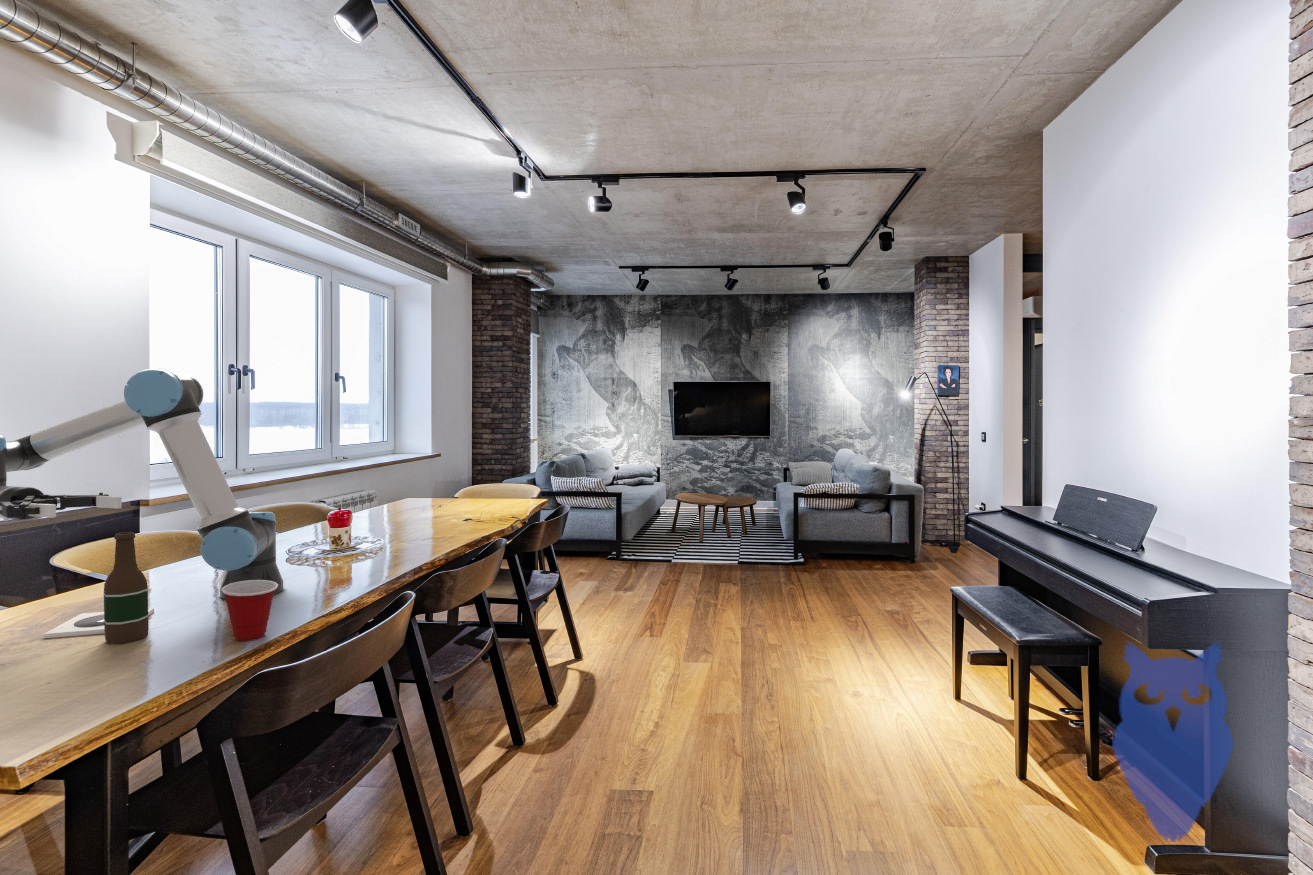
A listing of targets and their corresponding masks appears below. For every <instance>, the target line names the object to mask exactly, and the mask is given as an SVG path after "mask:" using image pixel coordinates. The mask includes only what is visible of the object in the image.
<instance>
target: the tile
mask: <svg viewBox="0 0 1313 875" xmlns="http://www.w3.org/2000/svg"><path fill="white" fill-rule="evenodd" d="M153 613H155V608H154V607H153V608H152V607H150V608H149V607H148V617H149V616H150V615H152V614H153ZM101 634H105V632H104V611H101V612H99V611H98V612H84V613H79V614H78V615H75V616H74V617H72V618H70V619H68V620H67V621H65V622H63V623H62V624H60V625H58V626H56V627H54V628H52V629H50V630H49V631H46V632H45V633H43V639H52V638H65V637H75V636H76V637H77V636H87V635H101Z"/></svg>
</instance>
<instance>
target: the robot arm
mask: <svg viewBox="0 0 1313 875" xmlns="http://www.w3.org/2000/svg"><path fill="white" fill-rule="evenodd" d="M123 398H124V399H123V400H122V401H119V402H116V403H114V404H111V405H108V406H105V407H103V408H99V409H97V410H95V411H91V412H89V413H86V414H83V415H81V416H78V417H75V418H73V419H70V420H67V421H64V422H62V423H59V424H56V425H54V426H50V427H49V428H46V429H43V430H40V431H38V432H34V433H32V434H29V435H27V436H24V437H21V438H18V439H15V440H11V441H6V437H5V435H1V434H0V519H3V521H4V522H7V521H10V520H11V519H12V520H19V521H20V520H30V519H31V520H32V519H34V518H37V517H38V518H39V517H40V518H51V519H52V518H56V517H57V511H63V510H65V509H67V508H68V509H69V508H89V507H93V508H94V507H96V508H101V509H102V508H104V509H122V506H123V505H122V504H123V503H122V496H112V495H110V494H104V492H99V493H98V494H78V495H77V494H76V495H75V494H74V495H73V494H71V495H70V494H57V495H55V494H53V495H51V494H44V493H43V492H42V491H41V490H40V489H38V488H35V487H29V486H15V485H7V479H8V478H7V477H8V476H7V474H8V473H9V472H10V473H11V472H18V471H19V472H20V471H30V470H33V469H36V468H41V467H42V466H43V465H45V464H46V463H47V462H49V461H52V460H54V459H56V458H59V457H62V456H64V455H67V454H70V453H72V452H75V451H77V450H81V449H83V448H86V447H89V446H91V445H93V444H96V443H100V442H102V441H104V440H106V439H109V438H112V437H114V436H117V435H120V434H123V433H126V432H128V431H131V430H133V429H136V428H139V427H141V426H144V425H145V426H146V428H147V430H149V431H152V432H155V433H157V434H158V435H159V438H160V440H161V442H162V444H163V446H164V448H165V450H166V452H167V454H168V456H169V458H170V460H171V462H172V464H173V466H174V468H175V470H176V473H177V474H178V477H179V478H180V480H181V483H182V485H183V487H184V488H185V491H186V493H187V495H188V497H189V499H190V501H191V504H192V505H193V508H194V509H195V512H196V513H197V516H198V517H199V519H200V520H199V523H198V525H197V527H196V530H197V532H198V534H199V537H200V538H201V540H202V542H201V544H200V556H201V557H202V559H203V560H204V562H205V563H206V564H207V565H209V566H210V567H211V568H213V569H216V570H219V571H225V574H224V576H223V579H222V582H221V585H220V587H219V597H220V598H221V599H223V600H226V598H225V595H224V593H223V592H222V588H223V587H224V586H226V585H228V584H230V583H235V582H239V581H248V580H267V581H273V582H276V583H277V584H278V587H277V588H276V590H275V593H274V595H276V594H279V593H280V592H282V591H283V590H284V580H283V577H282V574H281V572H280V568H279V567H278V564H277V520H276V514H275V513H274V512H272V511H253V512H252V511H251V512H250V511H249V510H248V509H247V508H244V507H243V506H242V507H241V506H240V505H238V502H237V500H236V498H235V497H234V496H235V495H234V494H233V493H232V492H233V491H232V489H231V488H230V486H229V484H228V481H227V479H226V478H225V475H224V473H223V471H222V469H221V467H220V465H219V462H218V461H217V459H216V456H215V454H214V452H213V451H212V447H211V446H210V444H209V441H208V440H207V437H206V436H205V434H204V432H203V430H202V427H201V425H200V423H199V420H200V417H201V416H202V414H203V413H202V410H201V408H200V406H201V404H202V402H203V399H204V389H203V386H202V385H201V384H200V382H199V381H198V379H196V378H195V377H193V376H192V375H191V374H189V373H186V372H183V371H182V372H181V371H175V370H168V369H166V368H149V369H144V370H140V371H137V372H136V373H134V374H133V375H132V376H131V377H130V378H129V379H128V380H127V382H126V384H125V386H124V388H123ZM58 504H59V506H58Z"/></svg>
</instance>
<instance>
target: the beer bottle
mask: <svg viewBox="0 0 1313 875" xmlns="http://www.w3.org/2000/svg"><path fill="white" fill-rule="evenodd" d="M135 538H136V534H135V532H133V531H122V532H118V533H115V534H114V537H113V539H114V540H115V546H114V547H115V549H114V550H115V551H114V562H113V563H114V564H113V568H112V570H111V571H110V573H109V574H108V575H107V576H106V579H105V582H104V584H103V612H104V632H105V633H104V639H105V642H106V643H107V644H108V645H123V644H128V643H135V642H137V641H141V640H143V639H145V638H147V637H148V635H149V616H148V609H149V589H148V588H149V587H148V580H147V578H146V576H145V573H143V571H141V569H140V568H139V566H138V564H137V558H136V557H137V556H136V546H135Z"/></svg>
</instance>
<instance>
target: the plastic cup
mask: <svg viewBox="0 0 1313 875" xmlns="http://www.w3.org/2000/svg"><path fill="white" fill-rule="evenodd" d="M277 587H278V584H277V583H276V582H273V581H267V580H248V581H239V582H235V583H230V584H228V585H226V586H224V587H223V588H222V592H223V593H224V595H225V598H226V599H225V603H226V606H227V611H228V616H229V620H230V626H231V627H232V632H233V636H234V640H235V641H237V642H250V641H256V640H259V639H261V638H263V637H265V635H266V632H267V628H268V623H269V622H268V621H269V617H270V613H271V609H272V608H271V607H272V604H273V598H274V595H275V594H274V593H275V590H276V588H277Z"/></svg>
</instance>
